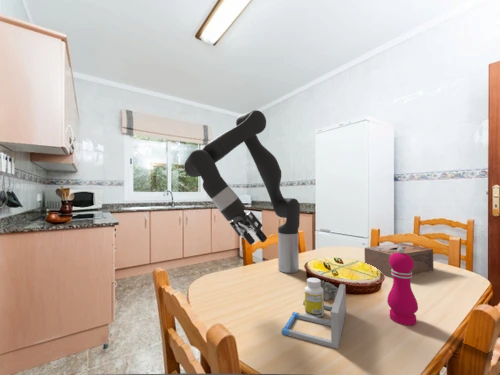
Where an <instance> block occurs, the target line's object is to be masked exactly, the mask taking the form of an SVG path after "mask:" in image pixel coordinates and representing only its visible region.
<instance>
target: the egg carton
mask: <svg viewBox="0 0 500 375" xmlns="http://www.w3.org/2000/svg"><path fill="white" fill-rule="evenodd" d="M320 287H322V288H323V293H324V301H329V300H330V299H333V300H335V298H336V295H337V292H338V289H339V287H337V286H335V285H334V284H332V283H330V282H329V281H328V282H324V280H321V286H320Z"/></svg>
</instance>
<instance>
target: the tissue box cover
mask: <svg viewBox="0 0 500 375" xmlns="http://www.w3.org/2000/svg"><path fill="white" fill-rule="evenodd" d="M400 247H401V248H403V249H404V250H405V252H404V253H405V254H407V255H409V256H410V257H411V258H412V259H413V261H414V268H413V269H412V270H411V272H412V276H415V274H416V275H419V273H421V274H425V272H426V273H431V272H434V269H435V268H434V249H433V248H429V247H423V246H422V247H421V246H419V245H414V244H412V245H411V244H410V243H409V244H408V243H401V242H400V243H393V244H385V245H378V246H369V247H368V246H367V247H364V264H365V263H367V264H370V265H372V266H374V267H376V268H377V269H379V270H380V271H381V272H382V273H383V274H384V275H385V276H384V275H383V276H384V277H387V278H390V279H393V275H392V274H391V272H392V271H391V269H393V268H392V267H391V266H390V264H389V257H390V256H391V255H392V254H394V253H398V251H397V249H398V248H400ZM430 271H431V272H430Z"/></svg>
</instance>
